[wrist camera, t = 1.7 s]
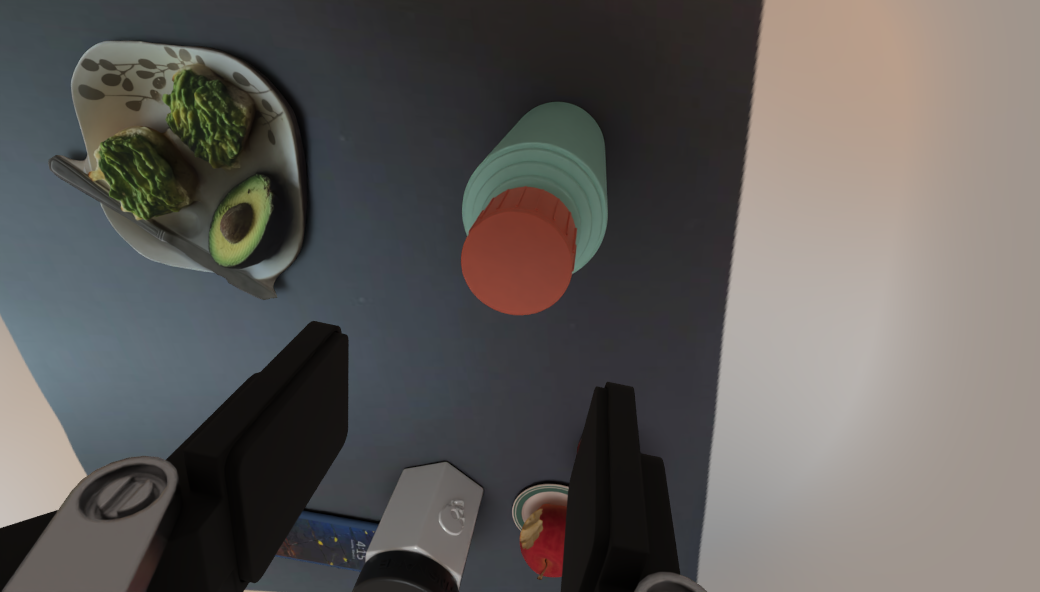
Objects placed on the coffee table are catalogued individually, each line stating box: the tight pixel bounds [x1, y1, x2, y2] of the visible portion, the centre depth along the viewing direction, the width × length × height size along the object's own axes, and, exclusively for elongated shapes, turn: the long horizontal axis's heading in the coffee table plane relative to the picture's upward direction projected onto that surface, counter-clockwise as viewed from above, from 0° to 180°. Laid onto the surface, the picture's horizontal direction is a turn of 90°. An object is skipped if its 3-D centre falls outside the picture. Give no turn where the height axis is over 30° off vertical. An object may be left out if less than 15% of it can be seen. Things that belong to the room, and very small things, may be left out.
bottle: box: [462, 102, 608, 274], centre depth 27 cm, size 6×6×19 cm
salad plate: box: [48, 41, 308, 300], centre depth 38 cm, size 19×18×5 cm
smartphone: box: [275, 511, 379, 572], centre depth 56 cm, size 8×1×15 cm
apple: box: [512, 484, 569, 580], centre depth 48 cm, size 8×8×6 cm
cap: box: [461, 186, 577, 315], centre depth 20 cm, size 4×4×3 cm
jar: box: [352, 462, 483, 592], centre depth 46 cm, size 9×8×12 cm
